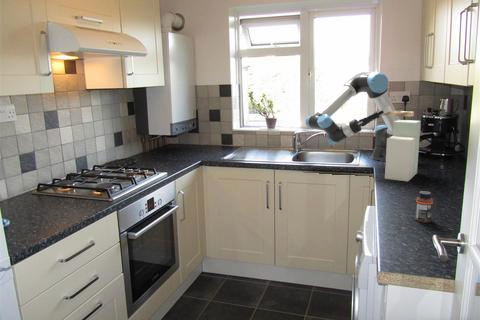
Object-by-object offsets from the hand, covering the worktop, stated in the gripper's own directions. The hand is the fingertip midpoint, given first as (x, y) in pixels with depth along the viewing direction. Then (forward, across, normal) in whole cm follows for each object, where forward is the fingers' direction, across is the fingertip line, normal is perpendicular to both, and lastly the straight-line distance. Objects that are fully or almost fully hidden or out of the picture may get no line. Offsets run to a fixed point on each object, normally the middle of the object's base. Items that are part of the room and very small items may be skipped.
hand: (389, 108), depth 221 cm
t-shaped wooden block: (0, 0, -4) cm, 4 cm away
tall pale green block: (-13, -6, -36) cm, 39 cm away
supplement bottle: (+8, +65, -48) cm, 81 cm away
